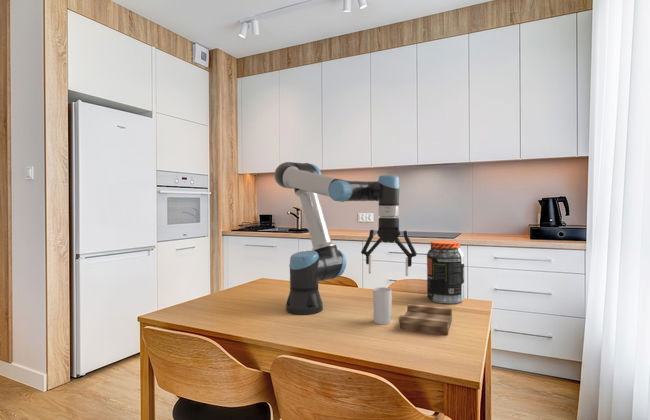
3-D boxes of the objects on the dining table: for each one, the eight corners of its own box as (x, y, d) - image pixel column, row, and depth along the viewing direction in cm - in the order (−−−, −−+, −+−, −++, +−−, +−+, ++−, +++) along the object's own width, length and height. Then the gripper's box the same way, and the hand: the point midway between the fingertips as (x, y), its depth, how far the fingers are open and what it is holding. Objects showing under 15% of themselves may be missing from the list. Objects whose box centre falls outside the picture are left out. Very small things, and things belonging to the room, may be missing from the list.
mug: (385, 326, 135) (385, 292, 135) (369, 322, 139) (369, 289, 139) (399, 318, 143) (399, 287, 142) (383, 315, 147) (383, 284, 147)
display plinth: (399, 329, 131) (399, 316, 131) (408, 315, 147) (408, 303, 147) (447, 335, 125) (447, 322, 125) (451, 320, 141) (451, 308, 141)
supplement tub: (471, 300, 167) (471, 242, 166) (448, 306, 158) (448, 244, 157) (442, 293, 180) (442, 239, 179) (419, 298, 171) (419, 241, 170)
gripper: (353, 217, 141) (353, 273, 142) (422, 218, 133) (422, 278, 134) (358, 216, 148) (358, 270, 149) (424, 217, 140) (423, 274, 141)
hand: (388, 274), depth 142 cm, fingers open, 13 cm apart
